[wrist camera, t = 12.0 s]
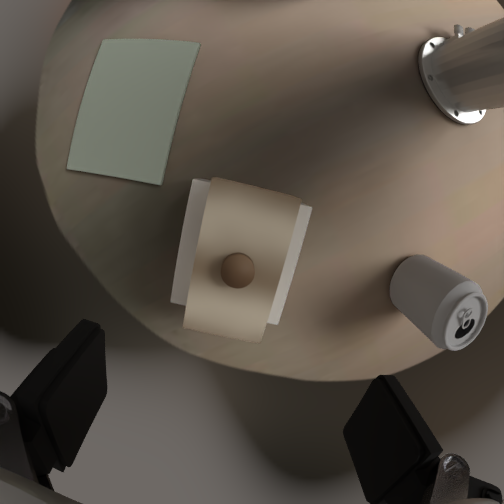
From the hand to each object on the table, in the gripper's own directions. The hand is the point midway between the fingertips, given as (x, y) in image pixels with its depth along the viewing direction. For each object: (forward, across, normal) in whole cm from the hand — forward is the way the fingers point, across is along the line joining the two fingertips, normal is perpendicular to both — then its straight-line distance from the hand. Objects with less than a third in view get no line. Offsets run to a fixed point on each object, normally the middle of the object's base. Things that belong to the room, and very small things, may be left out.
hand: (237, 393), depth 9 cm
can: (+22, -22, 0) cm, 31 cm away
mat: (+22, +15, -12) cm, 29 cm away
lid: (+16, 0, 0) cm, 16 cm away
